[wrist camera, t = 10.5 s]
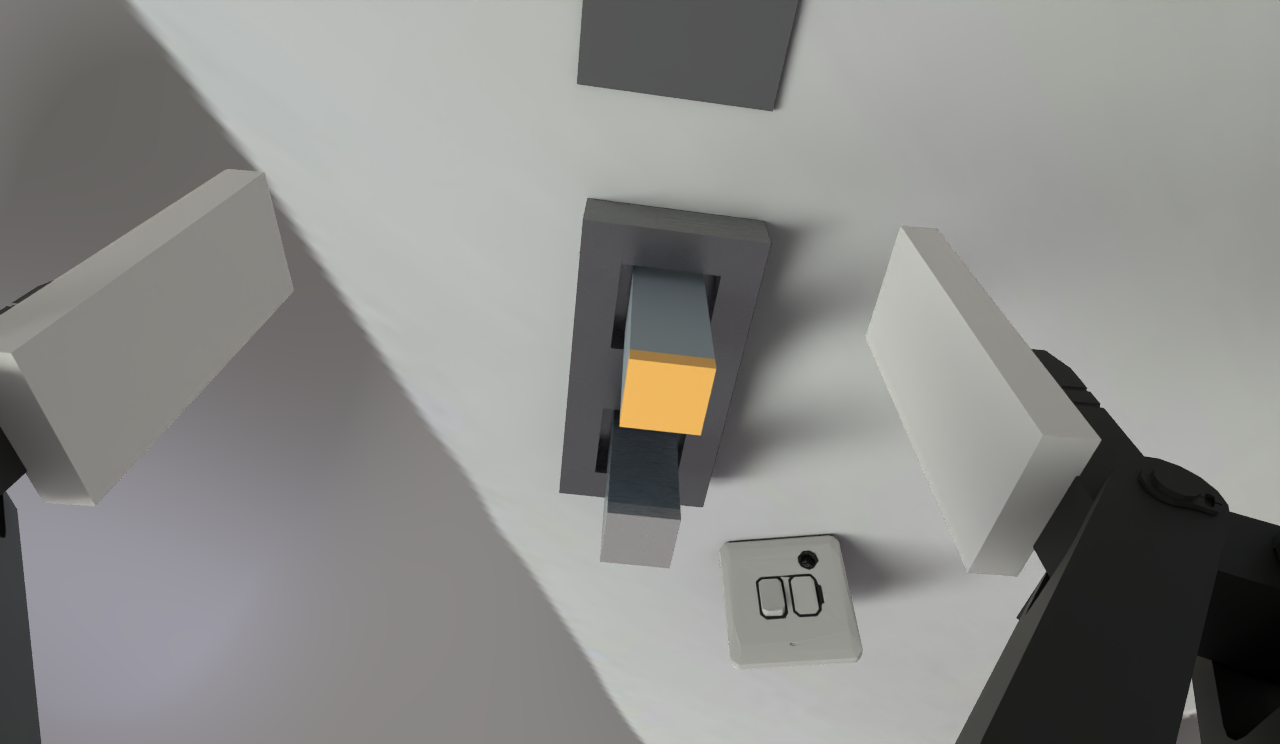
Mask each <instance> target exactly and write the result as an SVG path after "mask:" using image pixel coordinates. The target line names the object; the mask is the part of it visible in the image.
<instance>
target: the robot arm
mask: <svg viewBox="0 0 1280 744" xmlns="http://www.w3.org/2000/svg"><path fill="white" fill-rule="evenodd" d="M293 291H294V290H293V286H292V281H291V277H290V274H289V270H288V266H287V261H286V257H285V254H284V250H283V245H282V241H281V237H280V233H279V229H278V225H277V221H276V217H275V213H274V209H273V205H272V201H271V197H270V193H269V189H268V185H267V181H266V177H265V173H264V172H256V171H244V170H232V169H226V170H224V171H223V172H221V173H220V174H218V175H217V176H215V177H214V178H212V179H210V180H209V181H207V182H206V183H204V184H203V185H201V186H200V187H198V188H197V189H195V190H194V191H192V192H190V193H189V194H187V195H186V196H184V197H183V198H181V199H179V200H178V201H176V202H175V203H173V204H172V205H170V206H169V207H167V208H166V209H164V210H162V211H161V212H159V213H158V214H156V215H155V216H153V217H152V218H150V219H148V220H147V221H145V222H144V223H142V224H141V225H139V226H138V227H136V228H135V229H133V230H132V231H130V232H128V233H127V234H125V235H124V236H122V237H121V238H119V239H117V240H116V241H114V242H113V243H111V244H110V245H108V246H107V247H105V248H104V249H102V250H100V251H99V252H97V253H96V254H94V255H93V256H91V257H90V258H88V259H86V260H85V261H83V262H82V263H80V264H79V265H77V266H76V267H74V268H73V269H71V270H70V271H68V272H66V273H65V274H63V275H62V276H60V277H59V278H57V279H55V280H53V281H51V282H48V283H45V284H43V285H40V286H38V287H36V288H35V289H33V290H31V291H30V292H28V293H27V294H25V295H24V296H22V297H20V298H19V299H17V300H16V301H14V302H13V303H12V307H8V306H6V307H5V308H3V309H2V310H0V744H41V737H40V728H39V718H38V708H37V698H36V689H35V679H34V670H33V659H32V650H31V640H30V630H29V620H28V612H27V601H26V593H25V592H26V591H25V582H24V572H23V562H22V552H21V544H20V533H19V524H18V514H17V508H16V507H15V505H14V503H13V502H12V500H11V499H10V497H9V496H8V494H7V492H6V490H7V489H8V488H9V487H10V486H12V485H13V484H14V483H15V482H16V481H17V480H18V479H19V478H20V477H21V476H22V475H24V474H25V473H26V474H27V476H28V478H29V479H30V481H31V482H32V484H33V486H34V487H35V489H36V490H37V492H38V494H39V495H40V497H41V498H42V500H43V502H47V503H60V504H74V505H87V506H96V505H97V504H98V503H99V502H100V501H101V500H102V499H103V498H104V496H105V495H106V494H107V493H108V492H109V491H110V490H111V489H112V488H113V487H114V486H115V484H117V482H118V481H119V480H120V479H121V478H122V477H123V476H124V475H125V474H126V473H127V471H128V470H129V469H130V468H131V467H132V466H133V465H134V464H135V463H136V462H137V461H138V460H139V458H140V457H141V456H142V455H143V454H144V453H145V452H146V451H147V450H148V449H149V448H150V447H151V445H152V444H153V443H154V442H155V441H156V440H157V439H158V438H159V437H160V436H161V434H163V432H164V431H165V430H166V429H167V428H168V427H169V426H170V425H171V424H172V423H173V422H174V421H175V419H176V418H177V417H178V416H179V415H180V414H181V413H182V412H183V411H184V409H186V407H187V406H188V405H189V404H190V403H191V402H192V401H193V400H194V399H195V398H196V397H197V396H198V394H199V393H200V392H201V391H202V390H203V389H204V388H205V387H206V386H207V385H208V383H210V381H211V380H212V379H213V378H214V377H215V376H216V375H217V374H218V373H219V372H220V371H221V369H222V368H223V367H224V366H225V365H226V364H227V363H228V362H229V361H230V360H231V359H232V358H233V356H234V355H235V354H236V353H237V352H238V351H239V350H240V349H241V348H242V347H243V345H244V344H245V343H246V342H247V341H248V340H249V339H250V338H251V337H252V336H253V335H254V333H256V331H257V330H258V329H259V328H260V327H261V326H262V325H263V324H264V323H265V322H266V321H267V320H268V318H269V317H270V316H271V315H272V314H273V313H274V312H275V311H276V310H277V309H278V308H279V306H280V305H281V304H282V303H283V302H284V301H285V300H286V299H287V298H288V297H289V296H290V294H291V293H292V292H293ZM865 338H866V340H867V342H868V345H869V347H870V349H871V352H872V354H873V356H874V359H875V361H876V363H877V365H878V368H879V370H880V372H881V375H882V377H883V379H884V382H885V384H886V386H887V388H888V391H889V393H890V395H891V398H892V400H893V402H894V405H895V407H896V409H897V411H898V414H899V416H900V418H901V421H902V423H903V425H904V428H905V430H906V432H907V435H908V437H909V439H910V441H911V444H912V446H913V448H914V451H915V453H916V455H917V458H918V460H919V462H920V464H921V467H922V469H923V471H924V474H925V476H926V478H927V481H928V483H929V485H930V487H931V490H932V492H933V494H934V497H935V499H936V501H937V504H938V506H939V508H940V510H941V513H942V515H943V517H944V520H945V522H946V524H947V527H948V529H949V531H950V533H951V536H952V538H953V540H954V543H955V545H956V547H957V550H958V552H959V554H960V557H961V559H962V561H963V563H964V566H965V568H966V570H967V573H977V574H990V575H1003V576H1016V577H1017V576H1018V575H1019V573H1020V572H1021V570H1022V568H1023V567H1024V565H1025V563H1026V562H1027V560H1028V559H1029V557H1030V555H1031V554H1032V552H1033V550H1035V551H1036V553H1037V555H1038V557H1039V559H1040V560H1041V562H1042V564H1043V566H1044V568H1045V570H1046V573H1045V574H1044V576H1043V578H1042V579H1041V581H1040V582H1039V584H1038V585H1037V587H1036V588H1035V590H1034V591H1033V593H1032V594H1031V596H1030V598H1029V599H1028V601H1027V602H1026V604H1025V605H1024V607H1023V608H1022V610H1021V611H1020V613H1019V614H1018V616H1017V619H1019V622H1018V623H1017V625H1016V627H1015V629H1014V631H1013V633H1012V635H1011V637H1010V639H1009V641H1008V643H1007V645H1006V647H1005V649H1004V650H1003V652H1002V654H1001V656H1000V658H999V660H998V662H997V664H996V666H995V668H994V670H993V672H992V674H991V676H990V677H989V679H988V681H987V683H986V685H985V687H984V689H983V691H982V693H981V695H980V697H979V699H978V701H977V703H976V704H975V706H974V708H973V710H972V712H971V714H970V716H969V718H968V720H967V722H966V724H965V726H964V728H963V730H962V731H961V733H960V735H959V737H958V739H957V741H956V743H955V744H1176V740H1177V736H1178V732H1179V728H1180V723H1181V720H1182V715H1183V711H1184V707H1185V703H1186V699H1187V695H1188V691H1189V686H1190V682H1191V678H1192V682H1193V689H1194V696H1195V703H1196V710H1197V717H1198V724H1199V730H1200V738H1201V744H1280V526H1278V525H1275V524H1271V523H1268V522H1264V521H1261V520H1257V519H1254V518H1250V517H1247V516H1243V515H1240V514H1236V513H1232V512H1229V507H1228V504H1227V503H1226V501H1225V500H1224V499H1223V497H1222V496H1221V495H1220V494H1219V492H1218V491H1217V490H1216V489H1214V488H1213V487H1212V486H1211V485H1209V484H1208V483H1207V482H1206V481H1204V480H1203V479H1202V478H1201V477H1199V476H1197V475H1195V474H1193V473H1192V472H1190V471H1188V470H1186V469H1184V468H1182V467H1180V466H1178V465H1175V464H1172V463H1170V462H1167V461H1164V460H1161V459H1158V458H1151V457H1144V456H1143V455H1142V453H1141V452H1140V451H1139V450H1138V449H1137V447H1136V446H1135V445H1134V444H1133V443H1132V441H1131V440H1130V439H1129V438H1128V437H1127V435H1126V434H1125V433H1124V432H1123V431H1122V429H1121V428H1120V427H1119V426H1118V425H1117V423H1116V422H1115V421H1114V420H1113V419H1112V417H1111V416H1110V415H1109V414H1108V412H1107V411H1106V410H1105V409H1104V408H1100V403H1099V402H1098V400H1097V399H1096V398H1095V397H1094V396H1093V394H1092V393H1091V392H1088V391H1087V387H1086V386H1085V385H1084V384H1083V382H1082V381H1081V380H1080V379H1079V378H1078V376H1077V375H1076V374H1075V373H1074V372H1073V370H1072V369H1071V368H1070V367H1068V366H1067V365H1065V364H1064V363H1062V362H1061V361H1060V360H1058V359H1057V358H1055V357H1054V356H1052V355H1051V354H1050V353H1048V352H1047V351H1045V350H1035V349H1030V347H1029V346H1028V345H1027V344H1026V342H1025V341H1024V340H1023V338H1022V337H1021V336H1020V335H1019V333H1018V332H1017V331H1016V329H1015V328H1014V327H1013V326H1012V324H1011V323H1010V322H1009V320H1008V319H1007V318H1006V317H1005V315H1004V314H1003V313H1002V311H1001V310H1000V309H999V308H998V306H997V305H996V304H995V302H994V301H993V300H992V299H991V297H990V296H989V295H988V294H987V292H986V291H985V290H984V288H983V287H982V286H981V285H980V283H979V282H978V281H977V279H976V278H975V277H974V276H973V274H972V273H971V272H970V270H969V269H968V268H967V267H966V265H965V264H964V263H963V261H962V260H961V259H960V258H959V256H958V255H957V254H956V252H955V251H954V250H953V249H952V247H951V246H950V245H949V243H948V242H947V241H946V240H945V238H944V237H943V236H942V234H941V233H940V232H939V231H938V229H932V228H920V227H908V226H900V229H899V233H898V236H897V239H896V242H895V245H894V248H893V252H892V255H891V258H890V261H889V264H888V267H887V271H886V274H885V277H884V280H883V283H882V286H881V290H880V293H879V296H878V299H877V302H876V305H875V309H874V312H873V315H872V318H871V321H870V325H869V328H868V331H867V334H866V337H865Z"/></svg>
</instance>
